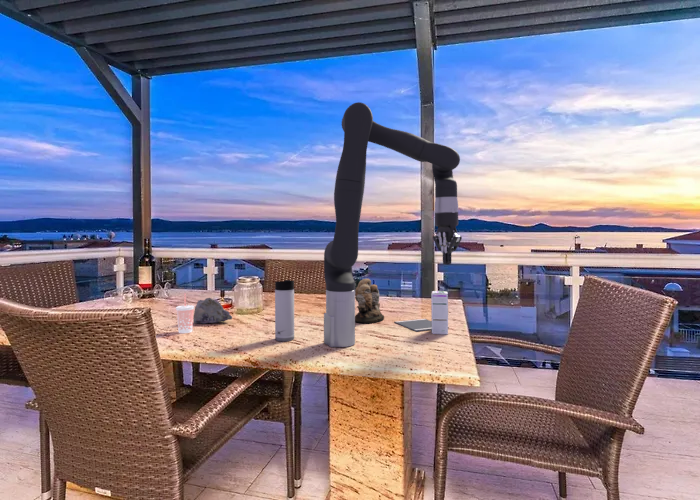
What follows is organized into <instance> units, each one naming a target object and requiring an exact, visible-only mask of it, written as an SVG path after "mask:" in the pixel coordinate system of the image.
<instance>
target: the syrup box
mask: <svg viewBox="0 0 700 500" xmlns="http://www.w3.org/2000/svg"><path fill="white" fill-rule="evenodd" d="M448 294H449V293H448V291H444V290H433V291H432V290H431V293H430V295H431V296H430V297H431V321H432V330H431V334H433V335H448V334H449V328H448V327H449V295H448Z"/></svg>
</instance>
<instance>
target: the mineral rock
mask: <svg viewBox="0 0 700 500" xmlns="http://www.w3.org/2000/svg"><path fill="white" fill-rule="evenodd" d="M232 319H233V316H232V315H231V314H230V312H229V311H228V310H225V309H224V306H223V305H222V304H221V303H220V302H219V301H216V300H215V299H213V298H211V297H207V298H205V299H199V300H198V301H197V303H196V304H195V306H194V310H193V324H198V325H199V324H208V323H209V324H218V323H220V322H222V323H223V322H226V321H228V320H232Z"/></svg>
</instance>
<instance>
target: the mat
mask: <svg viewBox="0 0 700 500" xmlns="http://www.w3.org/2000/svg"><path fill="white" fill-rule="evenodd" d="M394 324H397V325H398V326H401V327H404V328H407V329H409V330H411V331H414V332H416V333H417V332H419V333H420V332H427V331H432V320H429V319H426V318H419V319H408V320H399V321H394ZM449 328H450V327H449V326H448V329H449Z"/></svg>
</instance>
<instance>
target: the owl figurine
mask: <svg viewBox="0 0 700 500" xmlns="http://www.w3.org/2000/svg"><path fill="white" fill-rule="evenodd" d="M380 296H381V295H380V291H379V289H378V285H377V284H372V280H371V279H370V278H363V279H361V280H360V281H359V282H358V284H357V287H355V302H357V304H358V305H357V306H356V308H357V310H358V313H355V323H361V324H362V323H363V324H366V325H367V324H368V325H370V324H372V323H373V324H376V323H379V322H380V323H381V322H382V321H384V320H385V316H384V314H383V313H382V311H381V309H380V306H381V303H379V302H380Z"/></svg>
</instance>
